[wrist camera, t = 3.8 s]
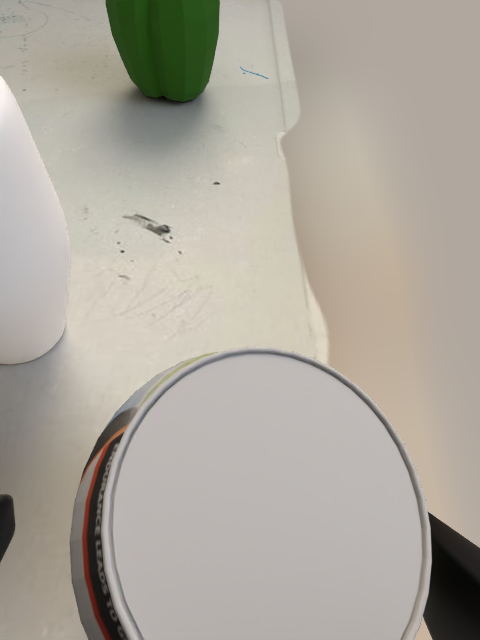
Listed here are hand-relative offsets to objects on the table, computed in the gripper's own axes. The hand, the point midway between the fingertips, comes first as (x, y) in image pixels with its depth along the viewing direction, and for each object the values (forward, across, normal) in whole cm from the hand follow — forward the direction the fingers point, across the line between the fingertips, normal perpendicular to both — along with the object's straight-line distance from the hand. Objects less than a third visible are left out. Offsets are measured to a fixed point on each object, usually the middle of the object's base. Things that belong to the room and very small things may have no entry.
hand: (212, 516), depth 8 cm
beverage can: (+6, 0, +6) cm, 8 cm away
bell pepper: (+30, +6, -18) cm, 35 cm away
